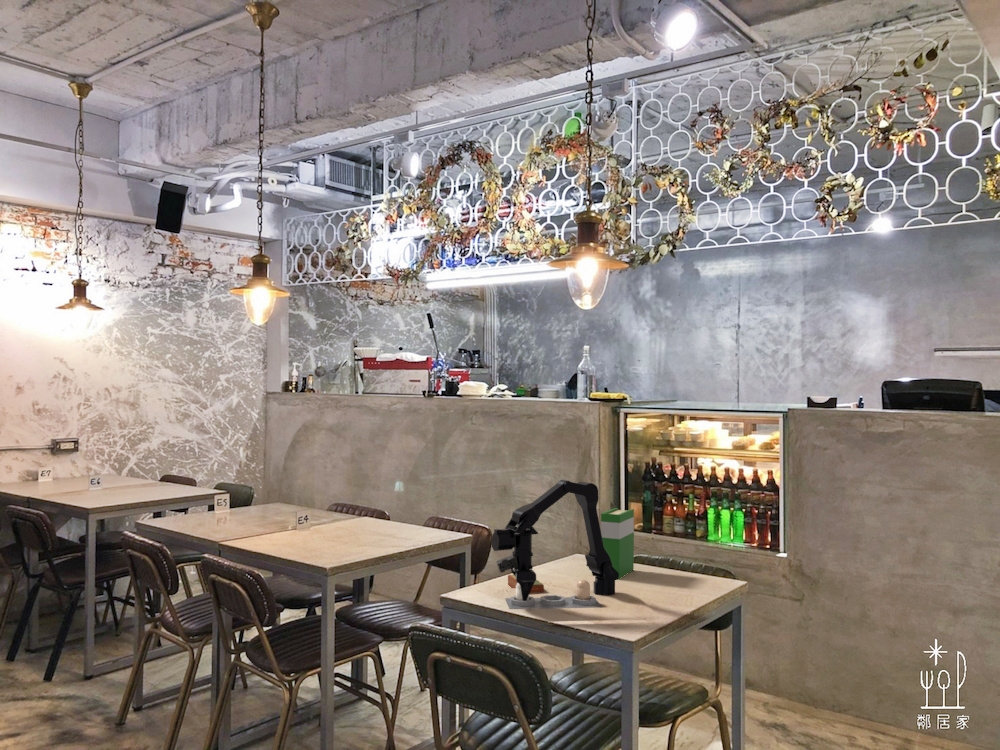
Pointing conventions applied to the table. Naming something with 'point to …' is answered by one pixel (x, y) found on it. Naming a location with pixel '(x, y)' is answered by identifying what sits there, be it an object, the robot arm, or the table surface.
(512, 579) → the carton
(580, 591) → the brown egg
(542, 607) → the egg stand
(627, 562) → the hardback book
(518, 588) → the cream egg
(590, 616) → the table surface
